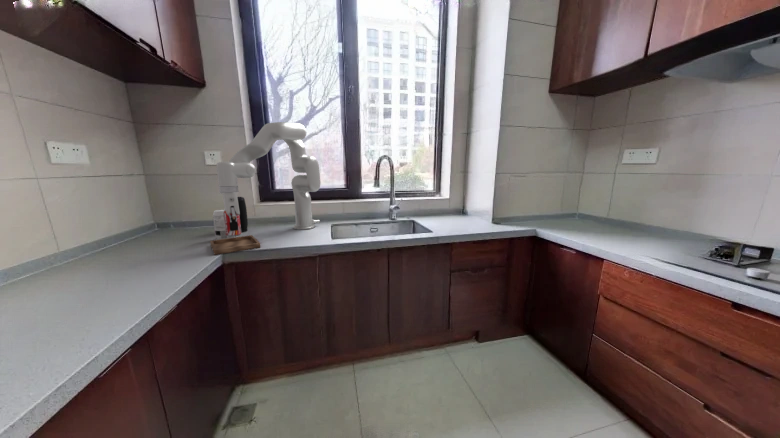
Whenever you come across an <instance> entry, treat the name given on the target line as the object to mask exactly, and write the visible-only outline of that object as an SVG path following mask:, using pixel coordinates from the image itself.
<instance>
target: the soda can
mask: <svg viewBox="0 0 780 438" xmlns="http://www.w3.org/2000/svg"><path fill="white" fill-rule="evenodd" d="M223 210H224V209H223ZM223 215H224V223H225V232H226V235H227V236H229V237H234V236H235V237H240V236H241V235H242V231H241V225H240V216H239V215H238V214H236V217H237V222H238V230H236V231H230V224H229V222H230V218H229V216H228V215H227V213H226V211H225V210H224V213H223ZM230 215H232V213H230ZM235 237H234V238H235Z"/></svg>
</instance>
